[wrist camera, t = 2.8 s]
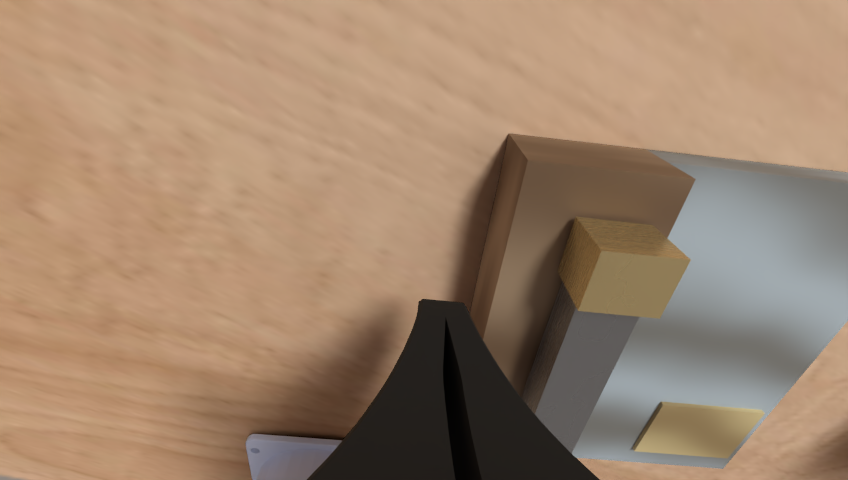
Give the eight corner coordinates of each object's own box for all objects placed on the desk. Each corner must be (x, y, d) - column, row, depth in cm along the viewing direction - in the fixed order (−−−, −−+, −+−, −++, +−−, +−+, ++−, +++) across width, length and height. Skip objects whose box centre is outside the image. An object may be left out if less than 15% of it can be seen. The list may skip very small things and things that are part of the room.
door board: (705, 442, 22) (744, 500, 20) (446, 421, 22) (448, 479, 19) (905, 179, 14) (1015, 215, 12) (508, 133, 14) (529, 161, 11)
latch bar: (548, 470, 18) (561, 518, 17) (485, 465, 18) (491, 513, 16) (662, 225, 12) (702, 261, 10) (566, 215, 12) (590, 249, 10)
